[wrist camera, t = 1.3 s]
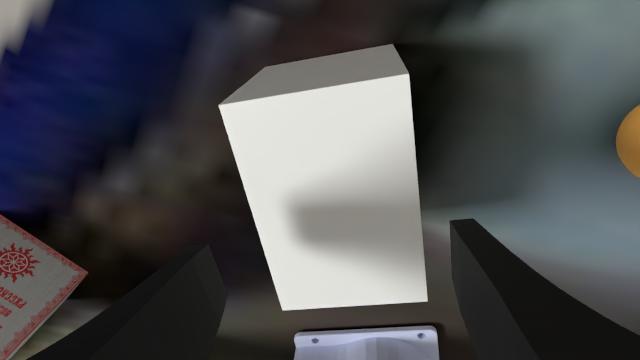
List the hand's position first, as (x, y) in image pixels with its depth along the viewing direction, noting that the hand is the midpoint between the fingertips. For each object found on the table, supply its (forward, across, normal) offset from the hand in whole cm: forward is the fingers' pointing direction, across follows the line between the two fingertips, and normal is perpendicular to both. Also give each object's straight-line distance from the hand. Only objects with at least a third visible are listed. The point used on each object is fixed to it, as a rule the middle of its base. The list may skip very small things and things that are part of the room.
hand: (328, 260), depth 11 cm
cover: (+9, 0, 0) cm, 9 cm away
